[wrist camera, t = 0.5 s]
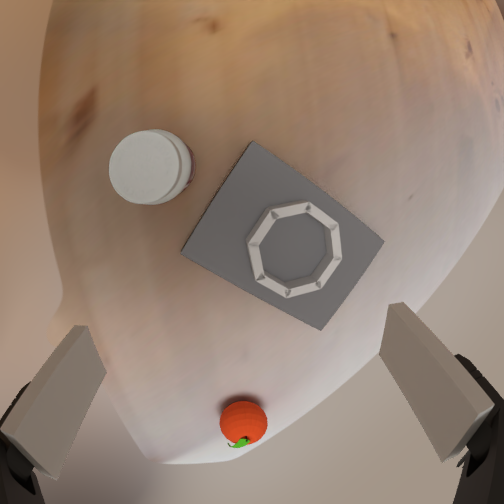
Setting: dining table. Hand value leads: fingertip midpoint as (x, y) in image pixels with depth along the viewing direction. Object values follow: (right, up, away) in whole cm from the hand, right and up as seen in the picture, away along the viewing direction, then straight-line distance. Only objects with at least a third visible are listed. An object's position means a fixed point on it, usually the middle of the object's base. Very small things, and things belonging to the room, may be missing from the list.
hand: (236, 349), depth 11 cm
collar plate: (+5, +5, +21) cm, 22 cm away
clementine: (-1, -20, +28) cm, 34 cm away
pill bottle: (-8, +13, +17) cm, 23 cm away
